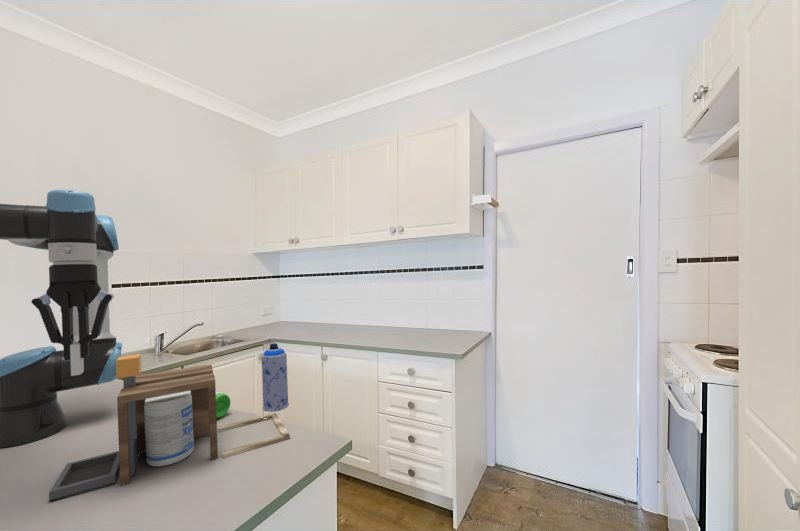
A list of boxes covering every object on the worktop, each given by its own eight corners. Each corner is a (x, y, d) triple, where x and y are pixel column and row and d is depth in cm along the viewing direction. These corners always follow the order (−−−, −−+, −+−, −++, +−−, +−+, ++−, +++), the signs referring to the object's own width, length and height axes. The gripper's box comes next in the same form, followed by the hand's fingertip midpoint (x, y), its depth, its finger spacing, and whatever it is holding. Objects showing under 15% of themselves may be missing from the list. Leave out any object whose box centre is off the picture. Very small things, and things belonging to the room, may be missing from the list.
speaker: (232, 413, 107) (231, 389, 107) (211, 423, 100) (210, 397, 100) (192, 406, 114) (192, 383, 114) (170, 415, 107) (170, 391, 107)
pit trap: (67, 472, 78) (67, 463, 78) (124, 457, 83) (123, 449, 83) (49, 502, 67) (49, 492, 67) (115, 484, 73) (115, 474, 73)
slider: (125, 454, 83) (122, 352, 83) (146, 449, 85) (142, 350, 85) (117, 478, 74) (113, 363, 74) (140, 472, 76) (137, 360, 76)
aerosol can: (268, 402, 115) (266, 341, 115) (292, 401, 115) (290, 341, 115) (258, 412, 107) (256, 347, 107) (283, 411, 107) (281, 346, 107)
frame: (217, 429, 96) (217, 426, 96) (275, 415, 104) (275, 412, 104) (222, 457, 81) (222, 454, 81) (290, 438, 89) (289, 435, 89)
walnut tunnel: (130, 452, 86) (128, 377, 85) (213, 431, 95) (211, 364, 95) (120, 486, 72) (117, 396, 72) (217, 458, 81) (215, 379, 81)
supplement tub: (194, 459, 81) (192, 396, 81) (144, 473, 76) (142, 406, 76) (192, 442, 89) (190, 385, 89) (147, 454, 84) (145, 393, 84)
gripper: (23, 264, 68) (27, 384, 68) (109, 262, 74) (113, 372, 74) (37, 264, 74) (41, 375, 74) (115, 263, 81) (119, 364, 81)
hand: (77, 373), depth 74 cm, fingers closed
